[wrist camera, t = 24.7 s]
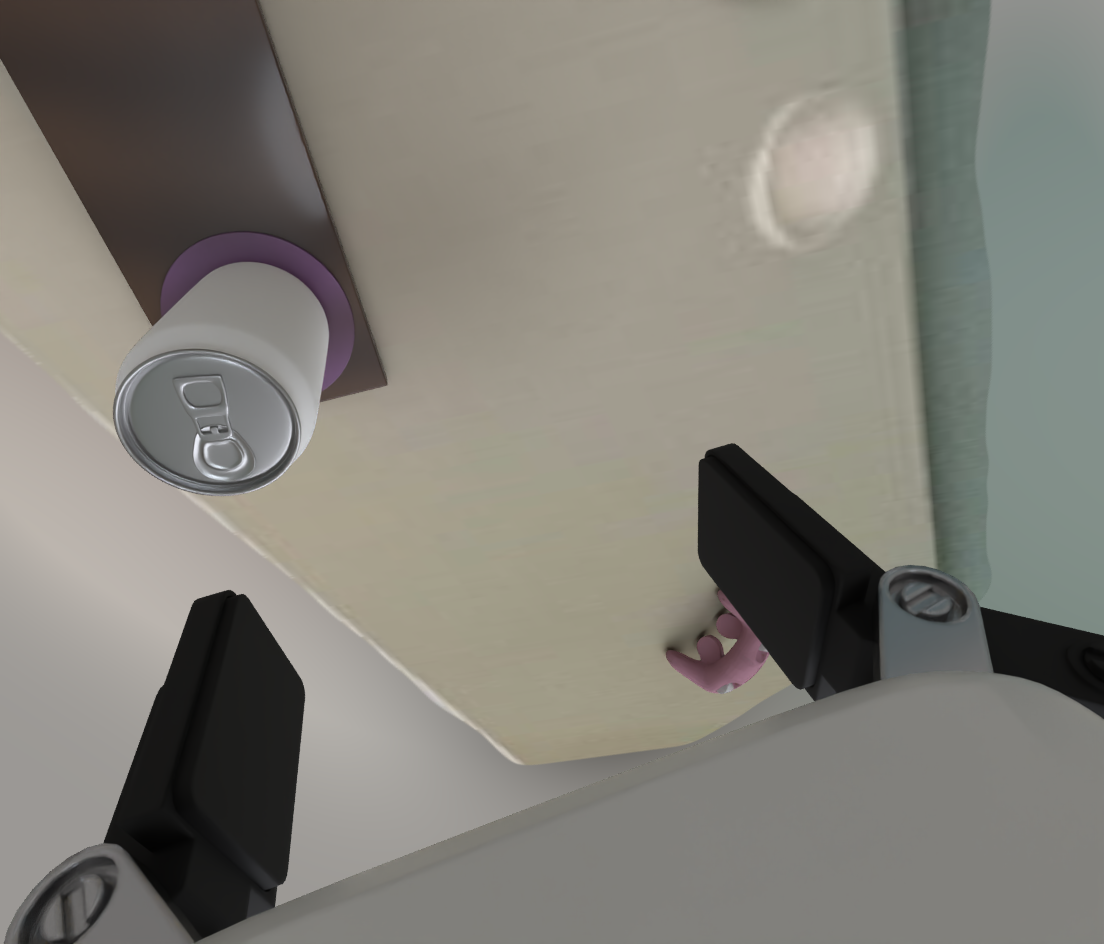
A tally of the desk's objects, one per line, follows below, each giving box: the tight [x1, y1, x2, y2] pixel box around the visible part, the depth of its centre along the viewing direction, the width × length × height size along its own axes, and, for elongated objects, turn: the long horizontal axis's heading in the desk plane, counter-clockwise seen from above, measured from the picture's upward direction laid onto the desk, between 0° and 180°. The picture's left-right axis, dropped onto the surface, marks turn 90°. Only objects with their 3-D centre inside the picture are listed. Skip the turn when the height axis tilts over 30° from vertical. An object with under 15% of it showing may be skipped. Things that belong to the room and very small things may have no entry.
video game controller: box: [666, 590, 769, 694], centre depth 53 cm, size 10×5×7 cm, turn 147°
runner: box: [0, 0, 387, 402], centre depth 23 cm, size 32×10×1 cm, turn 9°
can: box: [113, 262, 329, 496], centre depth 24 cm, size 6×6×12 cm
